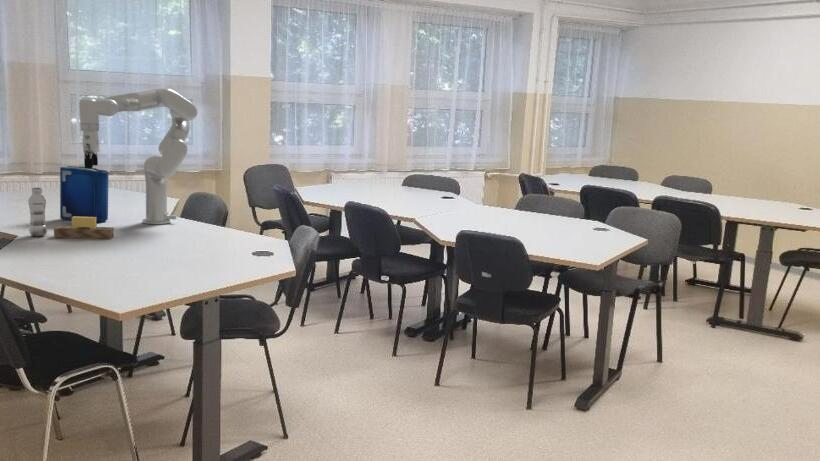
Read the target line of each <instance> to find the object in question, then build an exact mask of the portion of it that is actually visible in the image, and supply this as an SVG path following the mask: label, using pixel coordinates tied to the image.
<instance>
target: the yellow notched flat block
mask: <svg viewBox="0 0 820 461" xmlns="http://www.w3.org/2000/svg"><path fill="white" fill-rule="evenodd" d="M97 224H98V223H97V222H96V217H77V216H73V217H72V220H71V226H72V228H75V229H79V227H90V229H97V227H98V225H97Z"/></svg>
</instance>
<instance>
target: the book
mask: <svg viewBox="0 0 820 461" xmlns="http://www.w3.org/2000/svg"><path fill="white" fill-rule="evenodd" d="M59 173H60V176H59V179H60V180H59V186H60V187H59V188H60V190H59V191H60V192H59V194H60V195H59V199H60V200H59V204H60V206H59V207H60V208H59V210H60V211H59V213H60V215H59V216H60V217H59V218H60V220H65V221H72V217H73V216H77V217H96V223H104V222H106V221H108V220H109V175H110V174H109V171H108V170H105V169H98V168H94V167H92V168H85V166H76V165H73V166H72V165H67V166H61V167H60V170H59Z"/></svg>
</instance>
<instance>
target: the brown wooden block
mask: <svg viewBox="0 0 820 461" xmlns="http://www.w3.org/2000/svg"><path fill="white" fill-rule="evenodd" d="M114 228H115V227H113V226H97V229H90V227H79V229H75V228H72V225H57V226H55V227H54V228H53V238H54V239H80V240H81V239H83V240H85V239H86V240H111V239H113V238H114V236H115V232H114V231H115V229H114Z"/></svg>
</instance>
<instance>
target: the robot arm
mask: <svg viewBox="0 0 820 461" xmlns="http://www.w3.org/2000/svg"><path fill="white" fill-rule="evenodd" d="M78 103H79V105H78V106H79V123H80V124H79V126H80V129H79V130H80V131H81V132H82V152H83V153H84V155H83V156H84V160H83V161H84V163H83V164H84V167H85V168H94V166H98V165H99V164H98V162H99V161H98V160H99V159H98V154H99V153H100V140H99V139H100V138H99V132H100V119H99V118H100V117H99V116H104V117H112V116H113V117H114V116H115V115H117V113H121V112H131V113H132V112H142V111H147V110H151V109H157V108H163V107H164V108H168V109H169V114H170V117H171V126H170V128H169V130H168V131H167V133H166V134H165V136H163V138H162V140H161V141H160V142H159V144H158V152H159V153H160V155H161V156H157V155H152V156H149V157H147V158H146V159H145V161H144V164H143V173H144V178H145V180H144V181H145V218H143V219H142V223H143V224H146V225H166V224H170V223H171V220H177V215H175V214H173V215H171V214H169V212H168V191H167V190H168V183H167V179H169V178H171V177H172V176H174V174H175V173H176V172H177V170H178V169H179V168H180V166H181V165H182V163H183V161H184V160H185V158H186V156H187V154H188V145H187V143H186V141H185V140H186V139H187V138H188V135H189V133H190V121H192V120H195V119H196V117H197V116H198V108H197V106H196V105H195V104H194V103H192V102H191V101H190V100H188V99H187V98H185V97H184V96H182V95H181V94H179V93H178V92H176V91H175V90H173V89H171V88H163V87H161V88H159V87H158V88H153V89H148V90H142V91H135V92H129V93H124V94H118V95H111V96H104V97H98V98H97V99H93V98H81V99H80V100H79V102H78Z"/></svg>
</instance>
